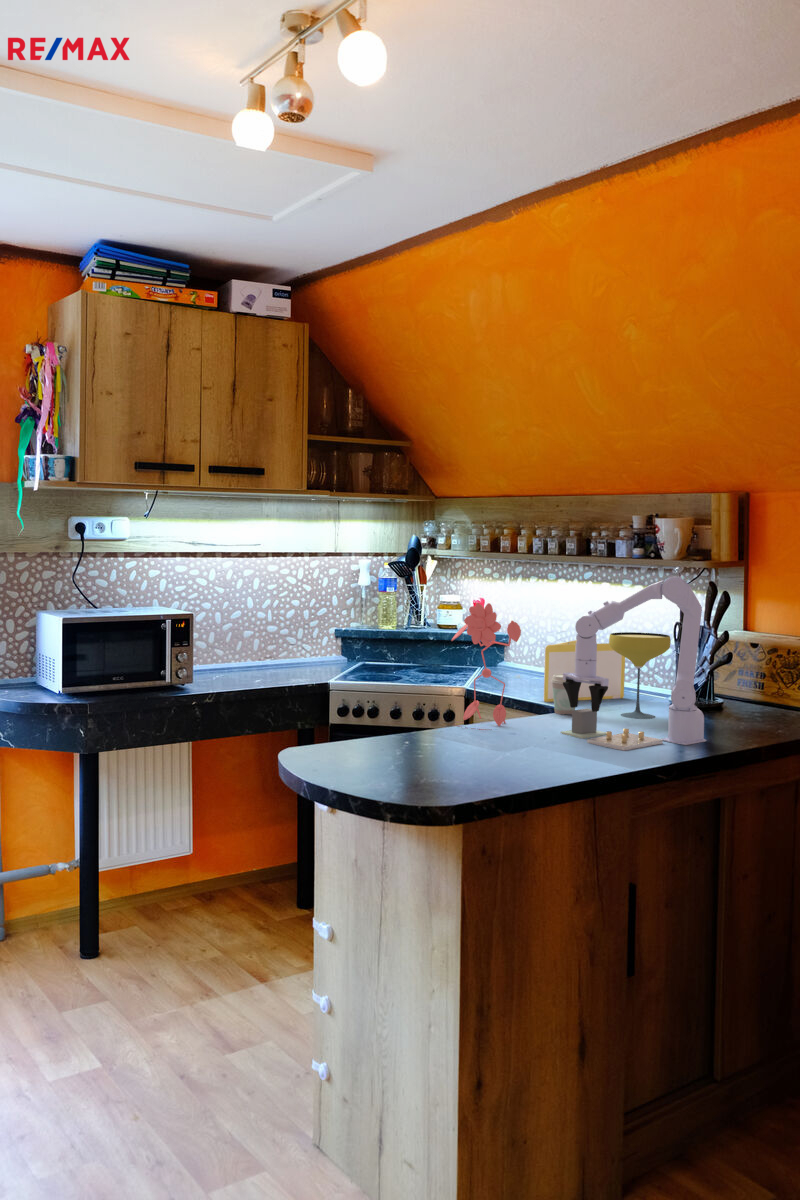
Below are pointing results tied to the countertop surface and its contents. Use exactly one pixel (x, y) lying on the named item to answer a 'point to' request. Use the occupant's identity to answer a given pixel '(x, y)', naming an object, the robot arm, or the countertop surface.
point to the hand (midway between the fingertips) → (584, 709)
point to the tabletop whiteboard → (563, 661)
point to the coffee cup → (560, 696)
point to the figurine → (484, 629)
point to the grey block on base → (584, 724)
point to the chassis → (625, 740)
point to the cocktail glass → (639, 656)
